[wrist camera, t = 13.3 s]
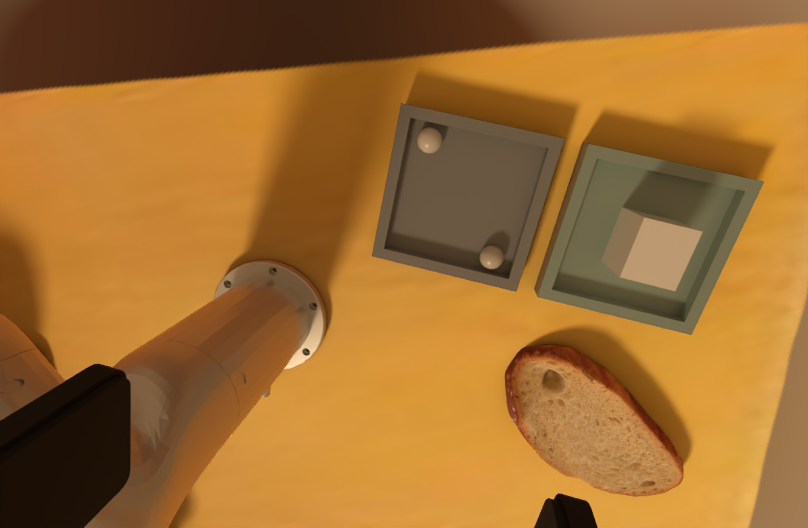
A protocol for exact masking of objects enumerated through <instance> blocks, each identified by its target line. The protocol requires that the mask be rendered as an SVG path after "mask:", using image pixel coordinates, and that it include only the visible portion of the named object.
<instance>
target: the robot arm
mask: <svg viewBox="0 0 808 528" xmlns="http://www.w3.org/2000/svg"><path fill="white" fill-rule="evenodd" d="M275 268H276V270H277V271H276V270H275ZM314 303H315V304H316V305H315V304H314ZM326 325H327V321H326V311H325V307H324V303H323V301H322V299H321V297H320V294H319V293H318V291H317V290H316V288H315V287H314V285H313V284H312V283H311V282H310V281H309V280H308V279H307V278H306V277H305V276H304V275H303V274H301V273H300V272H299V271H297V270H296V269H294V268H292V267H290V266H288V265H286V264H283V263H280V262H277V261H271V260H255V261H251V262H247V263H244V264H242V265H240V266H238V267H236V268H235V269H233V270H232V271H230V272H229V273H228V274H227V275H226V276H225V277H224V278H223V279H222V280H221V282H220V284H219V285H218V287H217V289H216V292H215V296H214V300H213V301H211V302H210V303H208V304H206V305H205V306H203V307H202V308H200V309H199V310H197V311H195V312H194V313H192V314H191V315H189V316H188V317H186V318H185V319H183V320H181V321H180V322H178V323H177V324H175V325H174V326H172V327H171V328H169V329H167V330H166V331H164V332H163V333H161V334H160V335H158V336H157V337H155V338H153V339H152V340H150V341H149V342H147V343H146V344H144V345H142V346H140V347H139V348H137V349H136V350H134V351H133V352H131V353H130V354H128V355H127V356H125V357H124V358H123V359H121V360H120V361H119V362H118V363H117V364H116V365H115V366H114V367H113V368H112V367H109V366H105V365H101V364H94V365H92V366H89V367H88V368H86V369H84V370H83V371H81V372H79V373H78V374H76V375H74V376H73V377H71V378H70V379H68V380H66V381H65V380H64V379H63V378H62V376H61V375H60V374H59V373H58V372H57V371H56V370H55V368H54V367H53V366H52V365H51V364H50V363H49V361H48V360H47V359H46V358H45V357H44V356H43V355H42V353H41V352H40V351H39V350H38V349H37V347H36V346H35V345H34V344H33V343H32V342H31V341H30V339H29V338H28V337H27V336H26V335H25V334H24V333H23V332H22V331H21V330H20V329H19V328H18V327H17V326H16V325H15V324H14V323H13V322H11V321H10V320H9V319H8V318H6V317H5V316H3V315H2V314H0V528H168V527H169V525H170V524H171V522H172V520H173V518H174V516H175V515H176V513H177V511H178V509H179V508H180V506H181V504H182V502H183V501H184V499H185V498H186V496H187V494H188V493H189V491H190V490H191V488H192V487H193V485H194V484H195V482H196V481H197V479H198V478H199V477H200V475H201V474H202V472H203V471H204V470H205V468H206V467H207V466H208V464H209V463H210V462H211V460H212V459H213V458H214V456H215V455H216V454H217V452H218V451H219V450H220V449H221V447H222V446H223V445H224V443H225V442H226V441H227V440H228V438H229V437H230V436H231V435H232V434H233V432H234V431H235V430H236V429H237V427H238V426H239V425H240V424H241V422H242V421H243V420H244V419H245V417H246V416H247V415H248V414H249V412H250V411H251V410H252V409H253V407H254V406H255V405H256V404H257V402H258V401H259V400H260V398H261V397H267V396H268V395H270V389H271V385H272V383H273V382H274V381H275V380H276V378H277V377H278V376H279V375H280V373H281V372H282V371H283V370H286V369H290V368H294V367H296V366H299V365H301V364H303V363H304V362H306V361H307V360H308V359H310V358H311V357H312V356H313V354H314V353H315V352H316V351H317V349H318V348H319V346H320V345H321V343H322V341H323V338H324V336H325V332H326ZM534 528H598V527H597V524H596V521H595V518H594V515H593V512H592V509H591V507H590V505H589V503H588V502H587V501H585V500H581V499H578V498H574V497H570V496H567V495H563V494H557V495H556V496H555V498H554V500H553V499H550V498H548V499H546V501H545V503H544V505H543V508H542V510H541V512H540V515H539V517H538V520H537V522H536V525H535V527H534Z"/></svg>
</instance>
